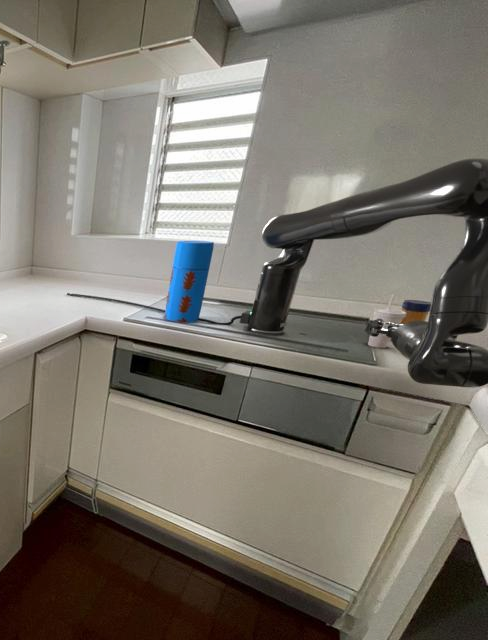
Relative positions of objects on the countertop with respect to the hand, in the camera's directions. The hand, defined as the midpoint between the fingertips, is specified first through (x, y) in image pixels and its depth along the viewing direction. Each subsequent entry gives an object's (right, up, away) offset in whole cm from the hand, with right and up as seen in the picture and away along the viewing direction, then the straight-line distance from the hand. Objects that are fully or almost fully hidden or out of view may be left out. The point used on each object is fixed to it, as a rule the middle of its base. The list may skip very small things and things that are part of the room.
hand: (400, 324), depth 98 cm
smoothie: (+6, -4, +12) cm, 14 cm away
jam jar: (+17, -3, +16) cm, 23 cm away
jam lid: (+16, +7, +11) cm, 21 cm away
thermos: (-34, +7, +40) cm, 53 cm away
